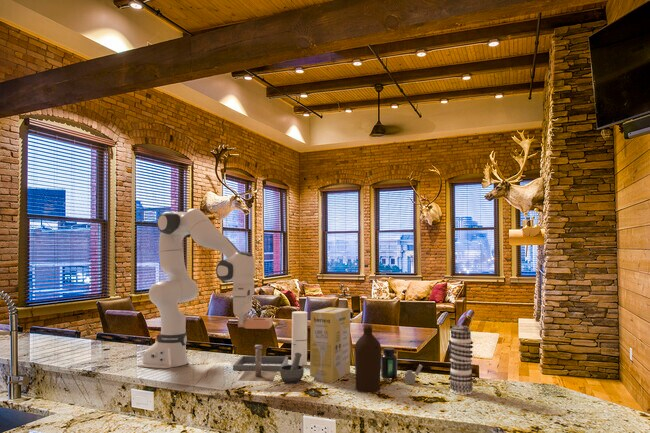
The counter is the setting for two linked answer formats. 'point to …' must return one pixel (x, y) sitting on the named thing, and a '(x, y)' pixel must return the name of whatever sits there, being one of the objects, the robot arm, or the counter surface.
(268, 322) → the ring
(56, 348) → the counter surface
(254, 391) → the counter surface
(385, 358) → the supplement bottle
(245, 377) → the stake stand
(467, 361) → the grey banded cylinder
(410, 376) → the lighter
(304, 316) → the cylindrical container
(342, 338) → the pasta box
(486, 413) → the counter surface
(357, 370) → the olive oil
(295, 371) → the mortar and pestle
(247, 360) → the tray
